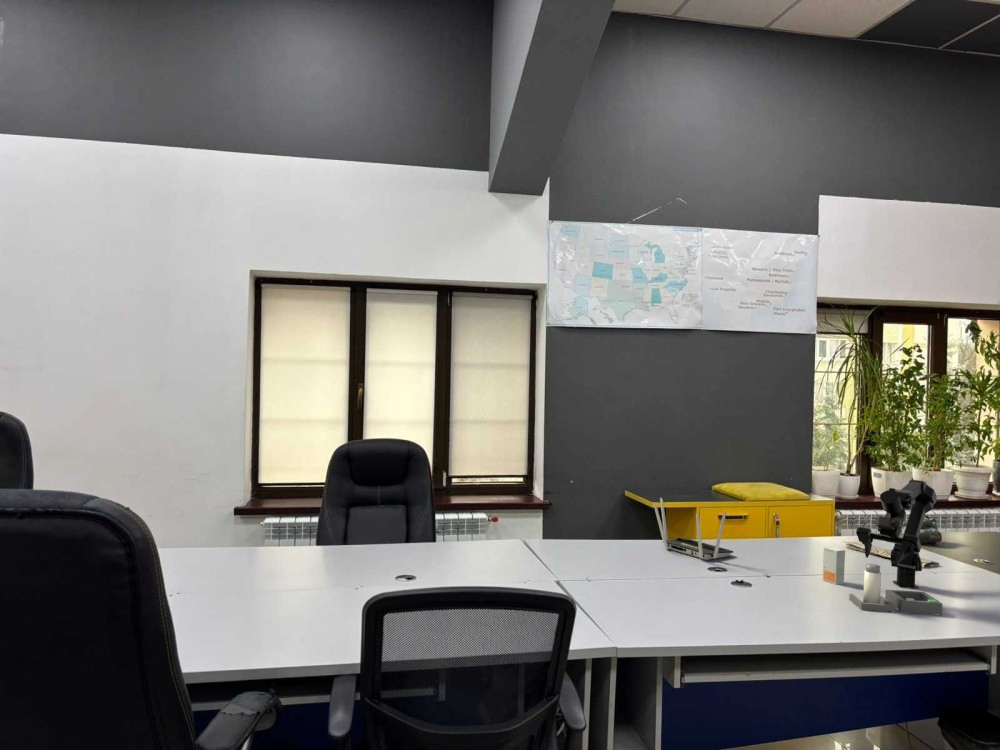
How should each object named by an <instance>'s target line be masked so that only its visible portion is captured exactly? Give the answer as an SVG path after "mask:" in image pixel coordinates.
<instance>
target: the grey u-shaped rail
mask: <svg viewBox="0 0 1000 750" xmlns="http://www.w3.org/2000/svg"><path fill="white" fill-rule="evenodd" d="M848 597H849V598H848V599H849V601H850V602H851V601H852V602H851V603H852V604H853V605H854V606H856V607H857V606H858V607H859V610H861V611H872V610H875V612H887V611H895V609H896V608H895V605H893V604H892V603H891V602H889V601H888V600H887V599H885V597H884V596H883V595H880V604H877V603H863V600H861V599H860V598H858V596H856V595H855V594H853V593H849V596H848ZM858 607H857V608H858ZM895 612H896V611H895Z"/></svg>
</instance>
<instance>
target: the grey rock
mask: <svg viewBox="0 0 1000 750" xmlns="http://www.w3.org/2000/svg"><path fill="white" fill-rule="evenodd" d="M907 522H908V519H907V520H906V521H904V523H903V526H902V530H903V531H904V532H905V528H906V525H907ZM904 532H903V533H904ZM919 540H920V544H921V543H922V544H924V543H925V544H926V543H928V544H937V543H941V542H942V540H943V536H942V533H941V532H940V531H939V529H938V525H937V520H936V518H934V517H933V518H930V516H928V515H925V517H924V520H923V524H922V527H921V531H920V534H919Z"/></svg>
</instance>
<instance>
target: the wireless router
mask: <svg viewBox="0 0 1000 750" xmlns="http://www.w3.org/2000/svg"><path fill="white" fill-rule="evenodd" d="M659 501H660V510H661V517H660V513H659V508H658V505H656V504H655V503H653V507H654V508H653V509H654V511H655V515H656V519H657V523H658V527H659V532H660V536H661V538H662V543H663V546H664V547H663V548H665V549H668V550H672V551H675V552H679V553H682V554H685V555H686V554H687V555H688V556H692V557H695V558H699V559H700V560H701V559H702V560H704V561H705V560H713V559H718V558H723V557H725V558H726V557H730V556H731V554H733V553H734V550H731V549H727V548H724V547H720V544H721V539H722V533H723V531H724V530H723V528H724V525H725V520H726V515H727V511H725V512H724V513H723V514H722V516H721V521H720V526H719V530H718V534H717V538H716V544H715V545H712V544H709V543H706V542H703V541H702V531H701V522H700V521H701V519H700V515H699V514H698V513H695V519H696V528H697V530H696V531H697V540H694V539H689V538H682V537H677V538H673V539H671V538H670V539H669V537H668V536H669V535H668V528H667V521H666V513H665V506H664V500H663V498H662V497H659ZM661 518H662V521H661Z"/></svg>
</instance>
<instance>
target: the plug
mask: <svg viewBox="0 0 1000 750" xmlns="http://www.w3.org/2000/svg"><path fill="white" fill-rule="evenodd" d="M881 584H882V571H881V565H879V564H876V563H866V564H865V569H864V571H863V595H862V597H863V600H862V602H863V603H877V604H881V603H880V596H881V586H882V585H881Z"/></svg>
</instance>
